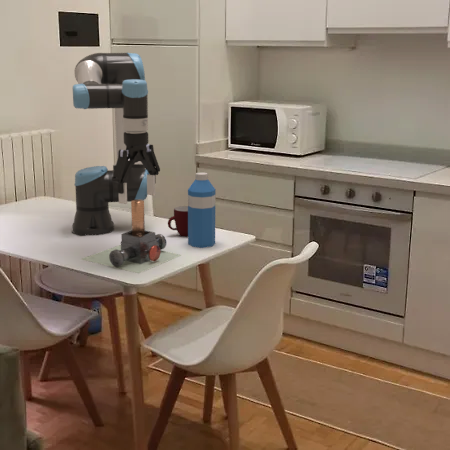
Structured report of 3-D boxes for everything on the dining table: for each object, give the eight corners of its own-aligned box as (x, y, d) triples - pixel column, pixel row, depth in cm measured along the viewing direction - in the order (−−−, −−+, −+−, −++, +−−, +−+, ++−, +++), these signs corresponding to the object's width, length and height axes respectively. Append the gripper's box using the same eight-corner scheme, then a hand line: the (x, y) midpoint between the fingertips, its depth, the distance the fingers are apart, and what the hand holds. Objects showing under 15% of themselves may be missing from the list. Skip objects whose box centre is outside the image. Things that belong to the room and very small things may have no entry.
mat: (80, 260, 220) (80, 259, 220) (126, 243, 237) (126, 242, 237) (138, 274, 207) (138, 273, 207) (182, 256, 225) (182, 254, 225)
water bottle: (187, 241, 241) (187, 171, 235) (214, 240, 242) (214, 170, 236) (188, 249, 232) (188, 176, 226) (216, 248, 233) (216, 176, 227)
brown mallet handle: (129, 241, 218) (128, 201, 215) (137, 238, 222) (136, 198, 218) (139, 243, 216) (138, 203, 213) (147, 240, 220) (146, 200, 216)
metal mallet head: (106, 265, 214) (105, 239, 212) (151, 248, 232) (150, 223, 229) (132, 271, 208) (132, 245, 206) (176, 253, 226) (176, 228, 224)
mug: (174, 240, 242) (174, 213, 239) (164, 235, 248) (163, 208, 246) (200, 236, 247) (200, 209, 244) (189, 231, 254) (189, 205, 251)
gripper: (117, 137, 198) (119, 209, 204) (170, 127, 218) (171, 193, 224) (98, 135, 202) (101, 205, 208) (152, 125, 222) (153, 189, 228)
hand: (137, 199), depth 216 cm, fingers open, 13 cm apart
